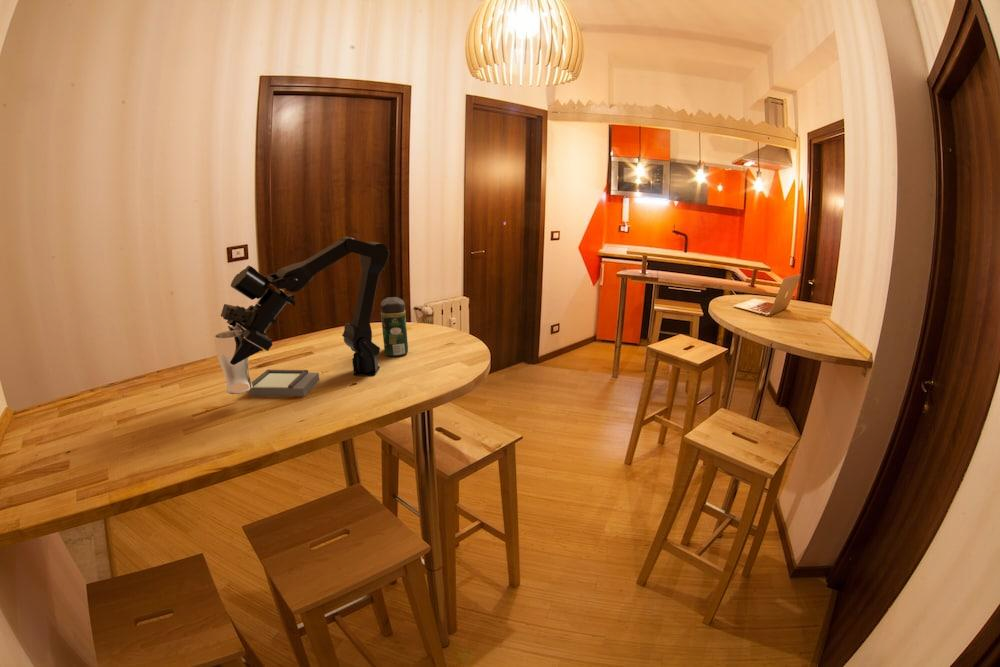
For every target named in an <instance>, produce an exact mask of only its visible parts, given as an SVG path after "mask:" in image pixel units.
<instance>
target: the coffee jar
mask: <svg viewBox="0 0 1000 667" xmlns="http://www.w3.org/2000/svg"><path fill="white" fill-rule="evenodd" d="M405 305H406V304H405V301H404V300H403V298H400V297H398V296H392V297H389V296H388V297H385V299H383V300H381V301H380V317H381V318H380V319H381V328H382V337H383V348H384V354H385V355H386V356H388V357H394V356H396V357H401V356H405V355H407V354H408V352H409V345H408V344H409V342H408V333H407V332H408V331H407V330H408V329H407V317H406V314H407V313H406V306H405Z"/></svg>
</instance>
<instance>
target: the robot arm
mask: <svg viewBox="0 0 1000 667" xmlns="http://www.w3.org/2000/svg"><path fill="white" fill-rule="evenodd" d="M351 253H354V254H356V255H360V259H359V262H360V265H361V269H362V270H361V271H362V273H361V278H360V283H359V289H358V293H357V297H356V298H357V299H356V304H355V308H354V314H353V317H352V320H351V321H350V323H348V322H345V323H344V329H343V332H342V335H341V336H342V337H343V342H344V343H345V345H346V346H347V347H349V348H350V349H351V351H352V352H354V353H353V358H352V359H351V361H352V369H353V375H354V376H375V375H376V374H377V373H378V371H379V370H380V368H381V366H380V365H379V362H378V361H379V360H378V355H379V354H380V350H381V348H380V346H378V345H377V344H375V343H374V342H373V338H372V337H373V331H372V327H371V317H372V312H373V307H374V302H375V297H376V293H377V292H376V291H377V286H378V283H379V277H380V274H381V273H382V271H384V268H385V267H386V265H387V263H388V259H389V257H390V249H388V246H387V245H385V244H383V243H381V242H377V241H372V240H371V241H365V242H364V241H361V240H357V239H356V238H353V237H349V236H342V237H340V238H339V240H337V241H335V242H333V243H332V244H330V245H328V246H326V247H325V248H323V249H322V250H320V251H318V252H316V253H315V254H313V255H312V256H310V257H308V258H306V259H305V260H302V261H300V262H294V263H291V264H289V265H285V266H284V267H280V269H278V270H277V271H276V272H275V273H271V274H268V275H263V274H262V273H260V272H259V271H257V269H255V267H253V266H251V265H247V266H246V267H245V268H244V269H243V270H241V271H240V272H239V273H237V274H236V275H235V276H234V278H233V279H232V281H231V283H230V287H231V288H232V289H233V290H235V291H237V292H238V293H240V294H242V295H243V296H245V297H247V298H248V299H250V300H255V299H257V302H256V303H255V305H249V306H248V308H245V307H244V306H239V305H231V304H226V303H224V304H223V307H222V309H221V310H222V311H221V313H220V317H222V318H223V320H225V321H226V320H227V321H226V323H227V324H228V326H227V329H228V331H234V330H239V331H243V332H244V334H243V336H244V337H245V338H244V337H242V336H240V335H239V338H240V345H239V347H238V349H237V350H236V352H235V354H234V356H233V358H232V359H231V361H230V363H231V364H232V365H235V364H237V363H239V362H240V361H242V360H244V359H246V358H248V357H251V356H254V355H255V354H257V353H260V352H263V351H264V350H265V351H267V352H269V350H270V349H271V348H272V346H273V341H272V339H271V338H269V337H268V335H267V333H266V331H267V330H268V328H269V327H270V326H271V324H276V322H277V320H276V319H277V317H278V315H279V313H280V312H281V311H282V310H283V308H284V307H285V306H286V305H287V303H288V304H290V305H292V306H294V307H295V306H296V301H295V295H294V294H291V293H297V292H300V291H301V290H302V289H304V288H305V287H306V286H307V285H308V284H309V283H310V282H311V280H313V278H314V276H316V275H317V274H318V273H320V272H321V271H323V270H325V269H326V268H328V267H329V266H332V264H335V263H336V262H338V261H339V260H341V259H342V258H344V257H346V256H348V255H349V254H351ZM269 285H271V286H272V287H274V288H275V290H274V289H273V288H271V287H270V286H269ZM281 289H283V290H285V291H287V292H290V293H288V294H287V293H286V292H285V291H283V290H281Z"/></svg>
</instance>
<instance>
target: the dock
mask: <svg viewBox="0 0 1000 667" xmlns="http://www.w3.org/2000/svg"><path fill="white" fill-rule="evenodd" d="M319 380H320V373H319V372H309V370H308V369H266V370H265V371H264V372H262V373H261V374H260V375H259V376H257V377H256V378H255V379H254V380H253V381H251V382H252V385H253V388H252V389H251V390H250V391H248V394H249V397H270V396H275V398H276V397H278V396H280V398H281V397H282V398H284V397H285V398H288V397H290V398H294V397H293V396H297V397H296V398H304V397H305V395H306V396H307V395H308V394H309V392H311V390H313V388H314V387H315V386H316V385H317V384H318V383H319V382H320V381H319ZM318 381H319V382H318ZM317 382H318V383H317ZM316 383H317V384H316ZM315 384H316V385H315Z"/></svg>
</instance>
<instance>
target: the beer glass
mask: <svg viewBox="0 0 1000 667" xmlns="http://www.w3.org/2000/svg"><path fill="white" fill-rule="evenodd" d="M243 334H244V332H243V331H239V330H234V331H229V330H228V331H221V332H218V333H217V334H214V344H215V349H216V350H215V352H216V357H217V359H218V362H219V364H220V367H221V369H222V371H223V374H224V376H225V380H226V393H227V394H229V395H240V394H245V393H249V391H250V390H251V389H252V388H253V385H252V382H253V381H252V380H251V378H250V377H251V376H250V373H249V357H250V356H249V357H248V358H246V359H244V360H242V361H240V362H239V363H237V364H235V365H232V364H231V363H230V361H231V359H232V358H233V356H234V354H235V352H236V350H237V349H238V347H239V345H240V338H239V335H240V336H242V337H244V336H243ZM244 338H245V337H244Z"/></svg>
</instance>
